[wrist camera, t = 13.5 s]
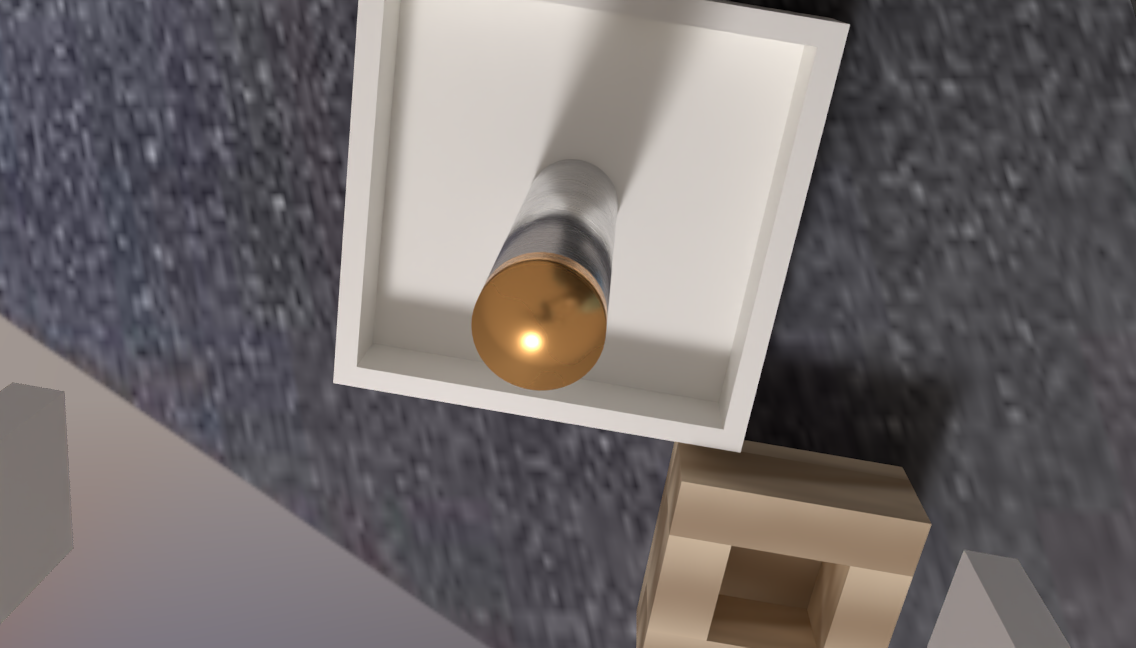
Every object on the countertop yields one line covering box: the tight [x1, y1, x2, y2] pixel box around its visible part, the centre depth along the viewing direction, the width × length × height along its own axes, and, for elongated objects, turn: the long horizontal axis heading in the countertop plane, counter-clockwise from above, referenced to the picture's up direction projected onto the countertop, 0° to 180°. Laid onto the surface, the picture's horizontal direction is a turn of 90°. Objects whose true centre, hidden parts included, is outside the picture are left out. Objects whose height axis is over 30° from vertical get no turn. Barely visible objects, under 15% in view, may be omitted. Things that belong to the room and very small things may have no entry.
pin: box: [471, 159, 618, 391], centre depth 28 cm, size 3×3×12 cm
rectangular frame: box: [333, 0, 850, 453], centre depth 33 cm, size 15×15×3 cm
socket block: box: [637, 440, 931, 648], centre depth 37 cm, size 9×9×4 cm
